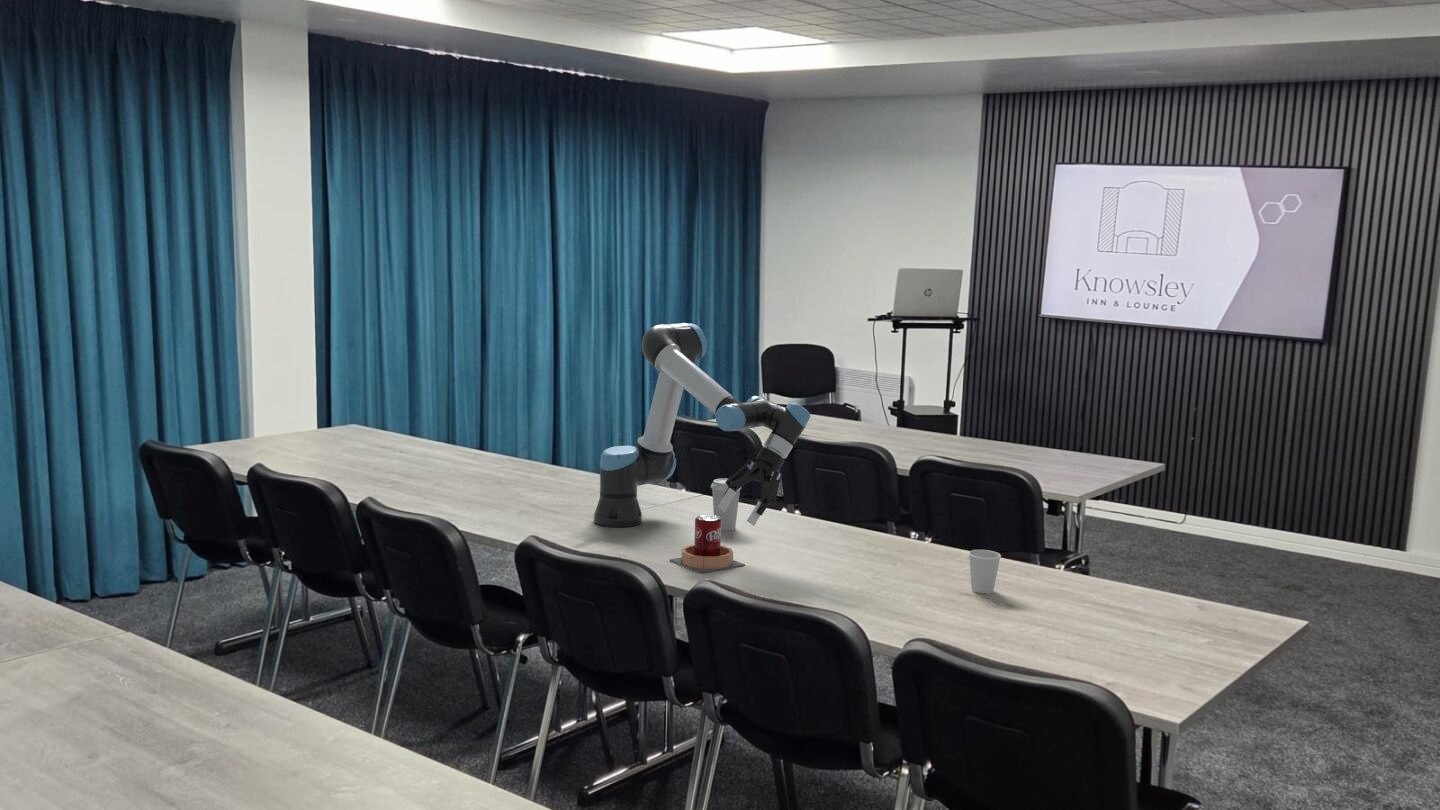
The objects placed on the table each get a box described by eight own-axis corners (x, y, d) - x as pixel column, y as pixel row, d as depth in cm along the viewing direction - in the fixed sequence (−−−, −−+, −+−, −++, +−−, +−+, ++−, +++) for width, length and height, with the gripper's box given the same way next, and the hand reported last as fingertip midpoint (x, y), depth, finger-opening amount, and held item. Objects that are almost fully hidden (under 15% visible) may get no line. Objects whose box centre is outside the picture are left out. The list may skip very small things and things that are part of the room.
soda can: (723, 558, 331) (725, 516, 330) (715, 564, 325) (716, 521, 323) (699, 555, 334) (700, 513, 332) (690, 561, 327) (691, 518, 325)
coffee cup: (737, 533, 364) (738, 485, 362) (706, 530, 366) (708, 482, 364) (742, 525, 373) (744, 479, 371) (713, 523, 375) (714, 477, 373)
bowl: (669, 560, 331) (669, 548, 330) (711, 553, 340) (712, 541, 339) (701, 573, 319) (701, 560, 318) (744, 565, 328) (745, 553, 327)
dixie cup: (963, 585, 316) (965, 548, 314) (995, 586, 315) (997, 550, 314) (969, 594, 307) (971, 557, 306) (1001, 596, 307) (1004, 558, 306)
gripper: (810, 470, 332) (771, 535, 329) (754, 448, 351) (717, 509, 348) (794, 457, 328) (755, 523, 324) (739, 436, 347) (701, 498, 343)
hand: (735, 516), depth 336 cm, fingers open, 13 cm apart
